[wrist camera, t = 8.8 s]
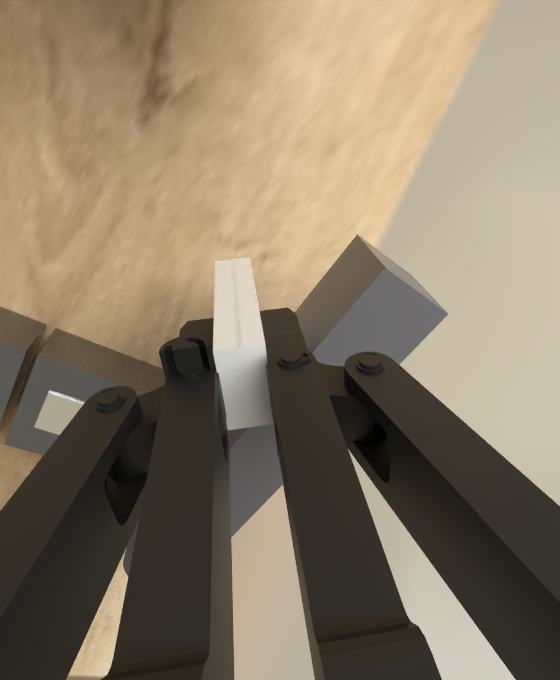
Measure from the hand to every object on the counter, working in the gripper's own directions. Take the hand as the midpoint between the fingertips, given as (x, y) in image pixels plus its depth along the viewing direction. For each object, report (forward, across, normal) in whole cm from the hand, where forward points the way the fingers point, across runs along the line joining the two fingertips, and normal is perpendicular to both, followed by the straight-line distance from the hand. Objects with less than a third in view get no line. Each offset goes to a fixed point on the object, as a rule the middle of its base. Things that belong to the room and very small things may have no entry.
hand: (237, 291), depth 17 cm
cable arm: (-1, 0, -5) cm, 5 cm away
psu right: (+4, -9, -7) cm, 12 cm away
